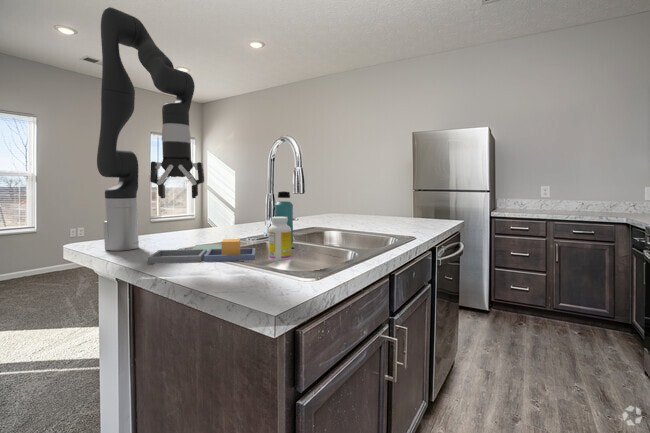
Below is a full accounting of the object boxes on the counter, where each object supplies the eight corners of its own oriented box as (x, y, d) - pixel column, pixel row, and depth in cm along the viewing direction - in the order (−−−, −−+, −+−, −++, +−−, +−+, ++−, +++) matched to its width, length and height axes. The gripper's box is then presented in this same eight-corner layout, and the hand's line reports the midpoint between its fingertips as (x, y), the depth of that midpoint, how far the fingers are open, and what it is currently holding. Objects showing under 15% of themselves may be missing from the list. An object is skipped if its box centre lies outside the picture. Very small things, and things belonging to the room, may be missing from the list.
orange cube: (221, 258, 102) (221, 241, 102) (223, 255, 107) (223, 239, 107) (239, 258, 103) (238, 241, 103) (240, 254, 108) (240, 238, 108)
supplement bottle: (293, 257, 107) (293, 216, 106) (288, 262, 100) (288, 218, 99) (271, 257, 107) (271, 215, 106) (266, 262, 101) (265, 218, 100)
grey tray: (147, 264, 96) (147, 257, 96) (158, 256, 107) (158, 250, 106) (200, 263, 99) (200, 256, 99) (206, 255, 109) (206, 249, 109)
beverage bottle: (283, 246, 124) (282, 191, 122) (297, 249, 121) (297, 191, 119) (270, 249, 119) (269, 191, 117) (284, 252, 115) (284, 191, 113)
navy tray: (204, 263, 99) (203, 256, 99) (209, 255, 109) (209, 248, 109) (254, 261, 101) (254, 254, 101) (255, 254, 112) (255, 247, 111)
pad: (189, 254, 110) (189, 251, 110) (196, 247, 122) (196, 244, 121) (228, 253, 112) (228, 250, 112) (231, 246, 124) (231, 244, 124)
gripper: (204, 143, 104) (206, 197, 106) (154, 142, 102) (156, 197, 103) (200, 140, 97) (201, 198, 98) (145, 139, 94) (147, 198, 96)
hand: (178, 198), depth 101 cm, fingers open, 8 cm apart
